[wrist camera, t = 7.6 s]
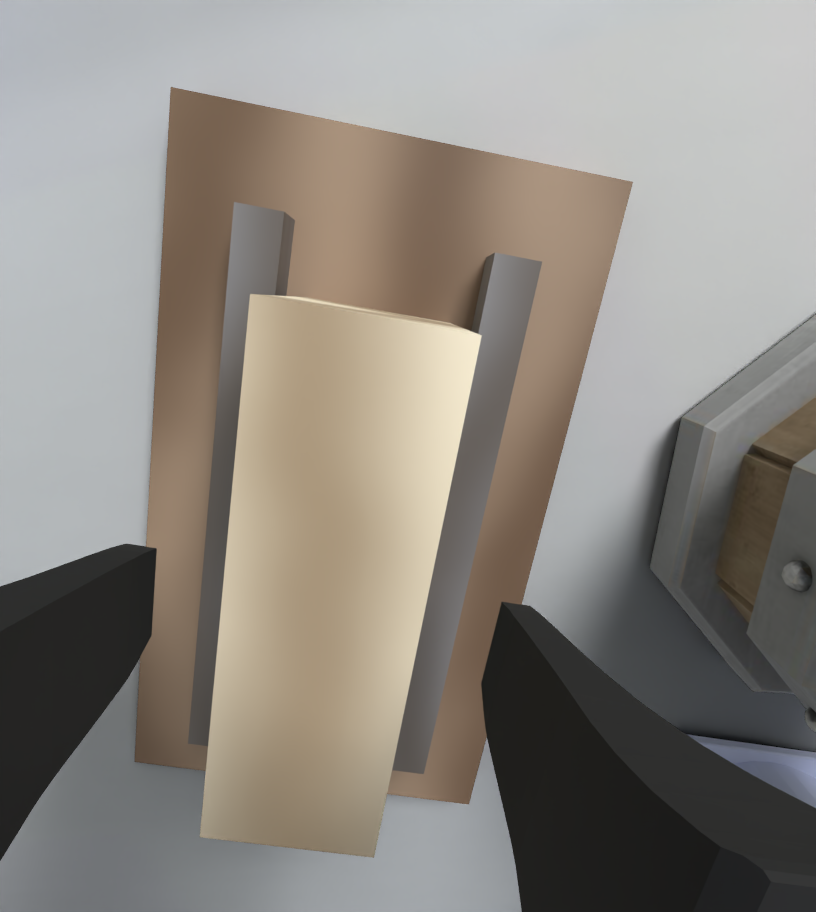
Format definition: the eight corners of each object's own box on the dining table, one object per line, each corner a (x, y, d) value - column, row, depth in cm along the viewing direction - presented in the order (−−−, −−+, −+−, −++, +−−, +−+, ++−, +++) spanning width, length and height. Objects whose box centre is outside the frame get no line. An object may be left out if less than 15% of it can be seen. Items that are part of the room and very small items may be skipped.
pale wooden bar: (451, 323, 15) (483, 335, 9) (382, 683, 18) (375, 857, 13) (306, 297, 15) (248, 293, 9) (262, 666, 18) (198, 837, 12)
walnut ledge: (615, 191, 15) (657, 169, 13) (464, 776, 21) (473, 840, 18) (188, 104, 15) (146, 63, 12) (149, 735, 20) (114, 796, 18)
